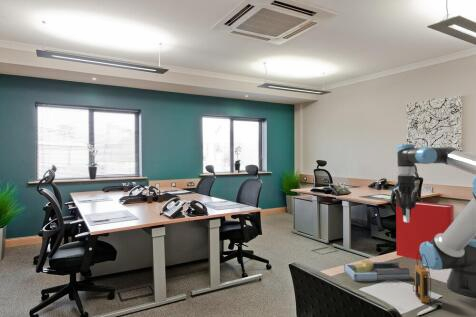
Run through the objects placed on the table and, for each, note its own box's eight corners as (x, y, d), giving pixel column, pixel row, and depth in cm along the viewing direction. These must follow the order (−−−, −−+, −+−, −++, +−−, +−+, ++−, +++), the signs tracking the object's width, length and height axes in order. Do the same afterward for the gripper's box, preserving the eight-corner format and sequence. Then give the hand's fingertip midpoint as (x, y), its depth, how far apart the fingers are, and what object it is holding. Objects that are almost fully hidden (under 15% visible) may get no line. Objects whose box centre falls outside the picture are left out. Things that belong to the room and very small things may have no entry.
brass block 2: (373, 271, 151) (373, 262, 151) (365, 272, 151) (365, 263, 151) (370, 268, 155) (369, 259, 155) (362, 269, 155) (361, 260, 155)
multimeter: (453, 309, 119) (453, 258, 118) (425, 307, 121) (424, 257, 120) (436, 293, 133) (436, 247, 133) (411, 291, 135) (411, 246, 135)
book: (396, 255, 183) (396, 201, 183) (401, 252, 189) (401, 200, 188) (450, 267, 163) (450, 207, 163) (454, 263, 169) (454, 205, 168)
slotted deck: (410, 279, 148) (410, 269, 148) (377, 280, 147) (377, 270, 147) (396, 269, 160) (396, 261, 160) (366, 270, 159) (366, 262, 159)
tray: (377, 280, 147) (377, 273, 147) (354, 281, 146) (354, 274, 146) (364, 270, 160) (364, 263, 160) (344, 271, 159) (344, 264, 159)
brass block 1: (365, 266, 151) (356, 267, 151) (366, 274, 151) (357, 275, 151) (361, 263, 155) (353, 264, 155) (362, 271, 155) (353, 272, 155)
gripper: (414, 174, 158) (414, 220, 158) (389, 174, 157) (389, 220, 157) (423, 175, 150) (423, 223, 150) (397, 175, 150) (398, 223, 150)
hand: (406, 221), depth 154 cm, fingers closed
